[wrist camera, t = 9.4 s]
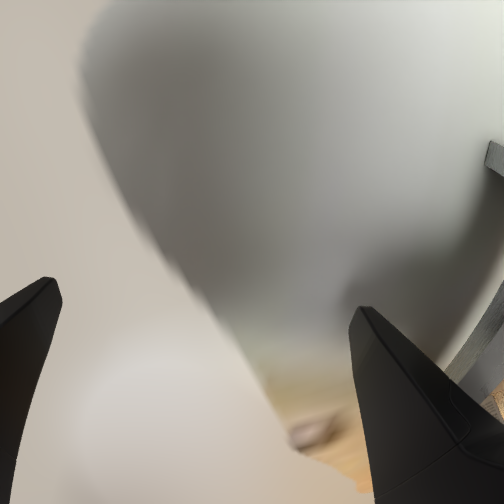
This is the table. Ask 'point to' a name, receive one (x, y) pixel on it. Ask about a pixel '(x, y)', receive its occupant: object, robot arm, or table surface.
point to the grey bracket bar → (483, 332)
